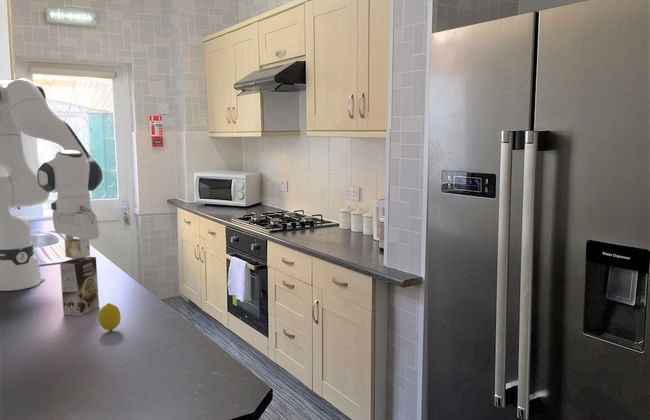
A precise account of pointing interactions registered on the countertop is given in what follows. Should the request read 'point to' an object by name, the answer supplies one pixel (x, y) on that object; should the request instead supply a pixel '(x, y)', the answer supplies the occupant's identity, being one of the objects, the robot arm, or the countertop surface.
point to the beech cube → (75, 249)
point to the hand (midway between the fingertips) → (77, 250)
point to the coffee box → (79, 286)
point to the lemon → (109, 317)
